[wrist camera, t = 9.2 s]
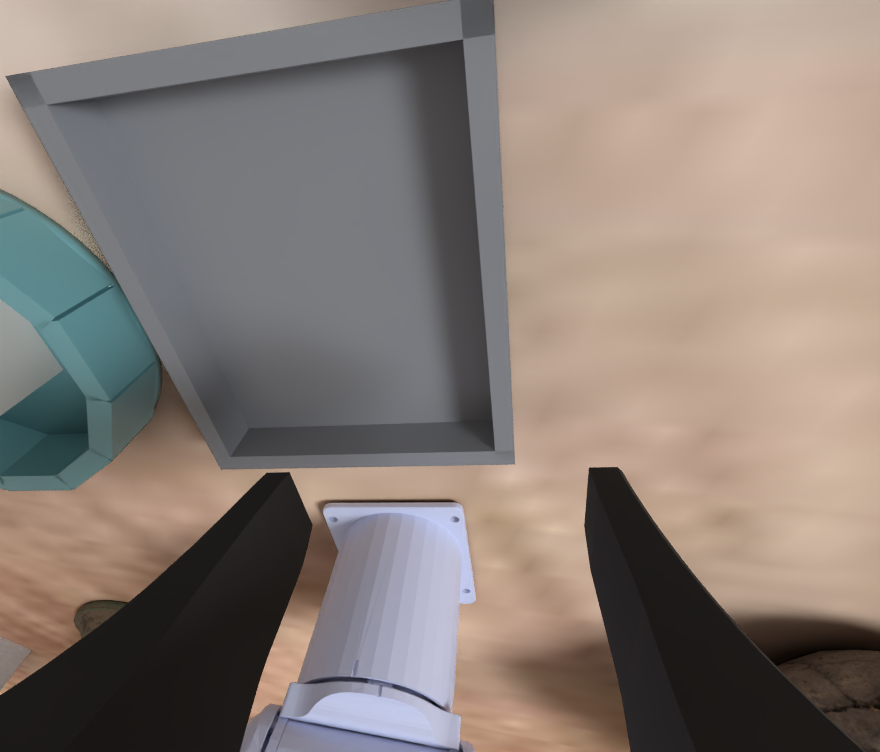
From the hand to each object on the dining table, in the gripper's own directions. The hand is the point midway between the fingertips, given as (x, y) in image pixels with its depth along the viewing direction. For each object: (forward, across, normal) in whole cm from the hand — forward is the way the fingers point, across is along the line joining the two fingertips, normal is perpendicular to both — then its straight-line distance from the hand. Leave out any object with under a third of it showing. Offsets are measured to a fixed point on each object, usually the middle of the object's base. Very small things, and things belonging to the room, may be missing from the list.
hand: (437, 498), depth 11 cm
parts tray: (+9, +5, -2) cm, 11 cm away
